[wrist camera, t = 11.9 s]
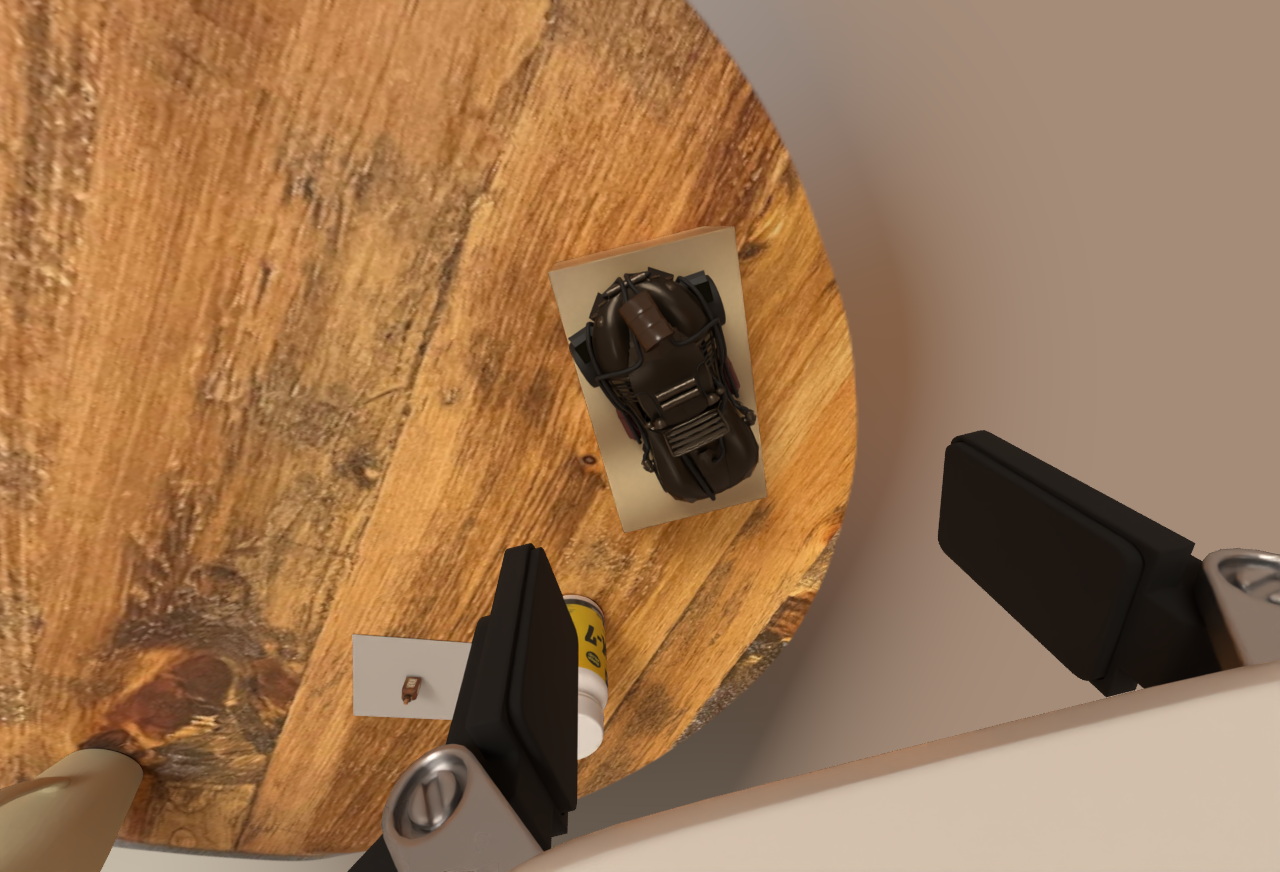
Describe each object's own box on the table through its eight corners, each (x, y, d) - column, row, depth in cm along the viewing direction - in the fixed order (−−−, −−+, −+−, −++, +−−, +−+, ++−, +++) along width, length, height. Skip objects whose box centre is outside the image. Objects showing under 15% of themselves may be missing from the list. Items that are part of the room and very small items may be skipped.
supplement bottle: (613, 632, 33) (621, 753, 26) (550, 651, 33) (540, 777, 26) (591, 583, 31) (594, 699, 24) (524, 604, 31) (505, 725, 24)
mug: (216, 777, 35) (50, 1027, 24) (103, 821, 35) (-110, 1084, 25) (90, 689, 30) (-186, 949, 19) (-37, 741, 31) (-376, 1022, 20)
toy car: (688, 235, 18) (718, 237, 14) (780, 471, 23) (820, 522, 19) (550, 306, 19) (541, 327, 15) (668, 522, 24) (685, 582, 20)
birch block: (554, 263, 23) (547, 272, 18) (704, 225, 23) (735, 225, 18) (617, 484, 28) (623, 533, 24) (738, 454, 28) (767, 497, 24)
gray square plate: (467, 720, 35) (462, 745, 34) (353, 715, 34) (341, 741, 32) (477, 643, 32) (471, 667, 31) (352, 634, 31) (338, 658, 29)
